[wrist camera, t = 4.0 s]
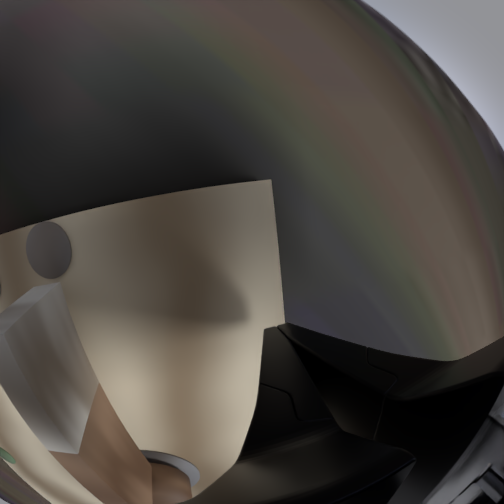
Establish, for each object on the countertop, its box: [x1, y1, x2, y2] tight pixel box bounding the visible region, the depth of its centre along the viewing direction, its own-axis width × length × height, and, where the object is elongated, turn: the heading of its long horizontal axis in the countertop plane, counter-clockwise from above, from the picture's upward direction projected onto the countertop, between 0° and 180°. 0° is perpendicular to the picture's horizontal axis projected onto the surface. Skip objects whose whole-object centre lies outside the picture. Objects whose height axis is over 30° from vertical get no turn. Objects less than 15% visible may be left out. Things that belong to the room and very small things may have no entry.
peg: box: [0, 282, 192, 504], centre depth 7 cm, size 14×4×4 cm, turn 7°
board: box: [0, 179, 285, 504], centre depth 10 cm, size 22×24×1 cm
